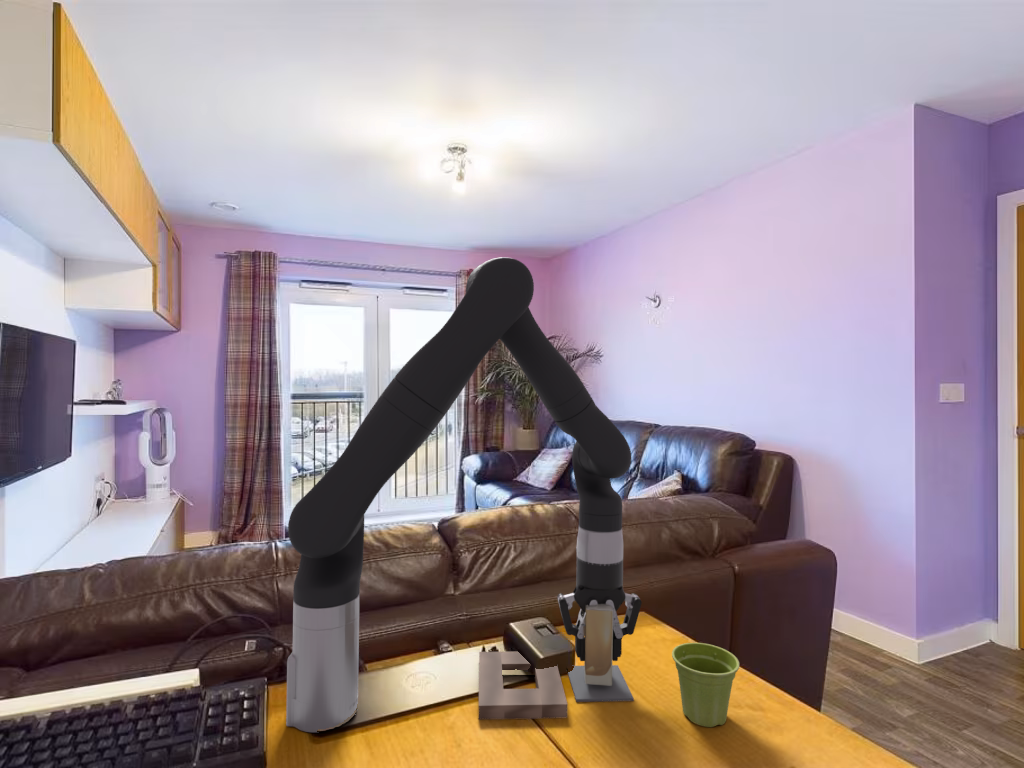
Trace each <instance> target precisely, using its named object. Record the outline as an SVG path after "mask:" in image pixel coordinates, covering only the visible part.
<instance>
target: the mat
mask: <svg viewBox="0 0 1024 768" xmlns="http://www.w3.org/2000/svg"><path fill="white" fill-rule="evenodd" d="M573 666H574V668H573V670H572V671H570V672H568V673H567V675H568V679H569V682H570V685H571V689H572V692H573V696H574V700H575V702H576V703H579V702H580V703H582V702H585V703H591V702H593V703H594V702H634V701H635V699H634V696H633V694H632V692H631V689H630V688H629V685H628V684H627V681H626V680H625V677H624V675H623V673H622V671H621V668H620V667H619V665H618V664H617V665H616V664H612V686H607V685H594V684H586V683H585V673H584V665H573Z"/></svg>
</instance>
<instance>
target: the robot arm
mask: <svg viewBox="0 0 1024 768" xmlns="http://www.w3.org/2000/svg"><path fill="white" fill-rule="evenodd" d="M534 285H535V283H534V278H533V275H532V273H531V271H530V270H529V268H528V267H527V266H526V264H525V263H523V262H522V261H520V260H518V259H516V258H512V257H507V256H506V257H500V256H499V257H495V258H491V259H489V260H486V261H484V262H483V263H481V264H480V265H477V267H476V268H474V269H473V270H472V272H471V273H470V274H469V275H468V278H467V280H466V284H465V293H464V295H463V297H462V298H461V300H460V302H459V303H458V305H457V307H456V308H455V310H454V311H453V313H452V315H451V316H450V317H449V318H448V320H447V321H446V323H444V325H443V326H442V328H440V329H439V330H438V332H437V333H435V334H434V336H432V337H431V338H430V339H429V340H428V341H427V342H426V343H425V344H424V345H423V346H422V347H420V349H418V350H417V352H416V353H415V354H413V356H412V357H411V358H410V359H409V360H408V361H407V362H406V363H405V364H404V365H403V366H402V367H401V369H399V371H398V372H397V373H396V375H395V376H394V377H393V379H391V381H390V383H389V384H388V385H387V386H386V388H385V389H384V390H383V392H382V393H381V394H380V396H379V397H378V398H377V400H376V402H374V405H373V406H372V407H371V409H370V411H369V412H368V413H367V415H366V416H365V418H364V419H363V421H362V422H361V424H359V426H358V428H357V430H356V432H355V433H354V435H353V436H352V438H351V440H350V441H349V443H348V445H347V446H346V447H345V449H344V451H343V452H342V453H341V455H340V456H339V458H338V459H337V460H336V461H335V463H334V464H333V465H332V466H331V467H330V468H329V470H327V472H326V473H325V474H324V475H323V476H322V477H321V478H320V479H319V480H318V482H317V483H316V484H314V486H313V487H312V488H311V489H310V490H308V492H307V493H306V494H304V496H303V497H302V498H301V499H299V501H298V502H296V504H295V506H294V508H293V509H292V511H291V513H290V516H289V520H288V525H287V533H288V538H289V542H290V544H291V546H292V547H293V548H294V550H295V551H296V552H297V553H299V554H300V560H299V566H298V569H297V573H296V575H295V577H294V582H293V593H292V594H293V596H292V597H293V598H292V600H293V602H292V603H293V605H292V608H293V609H292V652H291V653H290V655H289V656H288V658H287V661H286V709H285V710H286V716H285V717H286V718H285V722H286V723H285V725H286V727H294V728H296V729H298V730H299V731H301V732H307V733H318V732H317V730H318V729H326V728H329V727H334V726H336V725H338V724H339V723H342V722H344V720H346V719H347V718H348V717H350V716H351V715H352V714H353V713H354V711H355V710H356V708H357V704H358V703H359V657H360V656H359V655H360V654H359V652H360V649H359V648H360V647H359V646H360V644H359V643H360V641H359V640H360V590H361V589H360V587H361V579H362V578H361V576H362V573H363V565H364V548H365V547H364V545H365V544H364V540H365V515H366V512H367V511H368V509H369V507H370V506H371V505H372V503H373V502H374V500H375V498H376V496H377V495H378V494H379V493H380V491H381V490H382V488H383V487H384V486H385V485H386V483H387V482H388V481H389V480H390V479H391V478H392V477H393V476H394V474H396V473H397V472H398V470H400V468H401V467H402V466H404V464H406V462H407V461H408V460H409V459H410V458H411V457H412V456H413V455H414V454H415V453H416V452H417V450H418V449H420V447H421V446H422V445H423V444H424V442H425V441H427V439H428V438H429V437H430V435H432V433H433V431H434V430H435V429H436V428H437V426H438V425H439V423H441V421H442V420H443V418H444V417H445V415H447V413H448V411H449V410H450V409H451V407H452V406H453V404H454V403H455V401H456V400H457V398H458V397H460V396H459V395H460V394H462V393H461V392H462V391H463V389H464V388H465V387H466V385H467V384H468V382H469V381H470V379H471V377H472V376H473V375H474V374H475V371H476V370H477V368H478V367H479V365H480V363H481V362H482V360H483V359H484V358H485V356H486V355H487V354H488V352H490V351H491V349H492V348H493V347H494V346H495V344H497V342H498V341H499V340H500V341H501V342H502V343H503V345H504V346H505V347H506V348H507V350H508V352H509V353H510V354H511V355H512V357H513V359H515V361H516V362H517V364H518V366H519V367H520V369H521V370H522V372H523V373H524V375H525V376H526V378H527V380H528V381H529V383H530V385H531V386H532V388H533V389H534V391H535V392H536V394H537V396H538V397H539V399H540V401H541V402H542V404H543V406H544V407H545V408H546V410H547V411H548V413H549V415H550V416H551V418H552V419H553V421H554V422H555V424H556V425H557V426H558V428H559V429H560V430H561V431H562V432H563V433H564V434H567V436H570V437H572V438H573V439H574V440H575V442H574V446H573V448H572V455H571V458H572V460H571V463H572V469H573V476H574V481H575V488H576V491H577V494H578V501H579V503H578V504H579V505H578V532H577V538H576V548H575V551H576V574H575V575H576V577H575V578H576V580H575V582H576V585H575V587H574V589H573V591H572V592H571V593H568V594H567V593H566V594H563V593H561V592H560V593H557V596H556V597H557V602H558V606H559V611H560V614H561V618H562V622H563V623H562V624H563V626H564V627H563V628H564V629H565V633H566V634H567V635H568V636H574V651H575V654H576V657H577V658H579V661H580V662H584V661H585V630H586V605H588V607H596V606H597V604H606V606H611V607H612V608H613V649H612V662H617V661H619V658H621V657H622V653H623V651H622V645H623V644H622V643H623V642H622V641H623V640H622V639H623V637H624V636H626V635H629V636H632V635H633V634H634V632H635V629H636V625H637V621H638V618H639V614H640V611H641V607H642V603H643V602H642V600H641V598H640V597H639V596H638V594H636V593H633V592H632V593H631V594H630V593H627V592H625V591H624V586H623V583H624V579H623V578H624V536H623V499H622V497H621V495H620V494H619V493H618V492H617V491H616V490H615V488H613V486H612V482H611V479H618V478H620V477H623V476H624V475H625V474H626V473H627V472H628V470H629V469H630V467H631V464H632V452H631V451H632V450H631V448H630V445H629V443H628V441H627V439H626V437H625V436H624V435H623V433H622V432H621V431H620V430H619V428H618V427H617V426H616V425H615V424H614V423H613V422H612V420H611V419H609V418H608V416H607V415H606V414H605V413H604V412H603V411H602V410H601V409H600V408H599V407H598V406H597V404H596V403H595V401H594V399H593V397H592V396H591V394H590V393H589V391H588V390H587V388H586V386H585V385H584V382H583V381H582V379H581V378H580V377H579V376H578V374H577V372H576V371H575V370H574V369H573V367H572V365H571V364H570V363H569V362H568V360H567V359H565V357H564V356H563V355H562V354H561V353H560V352H559V350H558V349H557V348H556V347H555V346H554V345H553V343H552V342H551V340H549V339H548V337H547V336H546V334H545V333H544V332H543V330H542V329H541V328H540V326H539V323H537V321H536V320H535V318H534V316H533V313H532V312H531V309H530V308H529V307H530V305H531V302H532V300H533V297H534V289H535V288H534V287H535V286H534ZM573 602H575V603H576V604H577V605H578V607H579V608H580V610H579V612H578V615H577V616H578V617H577V621H576V624H574V623H572V619H571V614H570V610H571V609H572V608H573ZM624 602H625V603H624ZM623 603H624V604H625V606H626V610H625V615H624V619H623V622H622V623H620V621H619V617H618V614H617V612H618V610H619V608H620V607H621V606H622V604H623ZM358 705H359V704H358Z"/></svg>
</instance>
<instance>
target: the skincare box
mask: <svg viewBox="0 0 1024 768" xmlns="http://www.w3.org/2000/svg"><path fill="white" fill-rule="evenodd" d="M584 637H585V661H583V662H584V664H583V666H584V673H585V683H586V684H594V685H607V686H612V665H613V660H612V649H613V608H612V607H611V606H606V604H597V606H596V607H588V605H586V630H585V636H584Z"/></svg>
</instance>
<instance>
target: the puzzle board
mask: <svg viewBox="0 0 1024 768" xmlns="http://www.w3.org/2000/svg"><path fill="white" fill-rule="evenodd" d="M478 654H479V657H478V659H479V660H478V662H479V663H478V670H479V671H478V720H521V719H522V720H526V719H529V720H530V719H531V720H532V719H567V718H568V701H567V697H566V694H565V689H564V685H563V683H562V679H561V675H560V671H559V667H558V665H557V666H554V667H549V668H544V669H536V668H535V677H534V682H535V688H504V680H503V679H504V676H502V670H515V669H517V670H528V669H529V668H530V666H531V664H530V663H529V662H528V661H527V660H526V659H525V658H524V657H523V656H522V655H521V654H520V653H519V652H518V650H517V651H514V650H512V651H479V652H478Z"/></svg>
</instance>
